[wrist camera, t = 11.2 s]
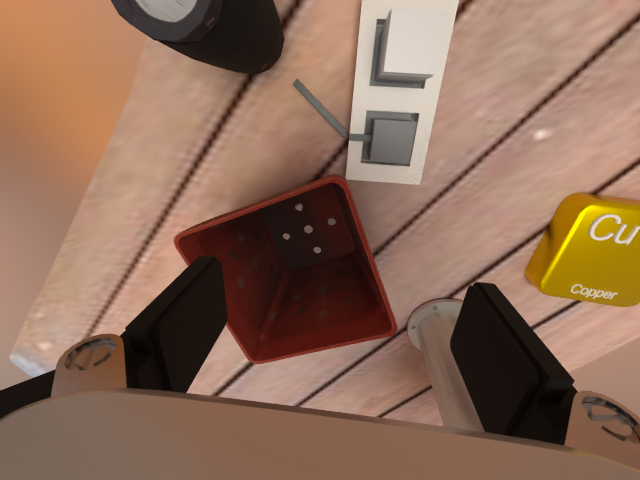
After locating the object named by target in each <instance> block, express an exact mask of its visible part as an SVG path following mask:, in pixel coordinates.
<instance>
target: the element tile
mask: <svg viewBox="0 0 640 480" xmlns="http://www.w3.org/2000/svg"><path fill="white" fill-rule="evenodd" d="M525 277H526V278H527V279H528V280H529V281H530V282H531V283H532V284H533V285H534V286H535V287H536V288H537V289H538V290H539V291H540V292H542V293H543V294H545V295H549V296H555V297H561V298H568V299H574V300H580V301H587V302H593V303H599V304H605V305H612V306H618V307H629V306H634V305H637V304H638V303H639V302H640V201H636V200H629V199H622V198H616V197H609V196H602V195H595V194H588V193H575V194H572V195H570V196H568V197H566V198H565V199H564V200H563V201H562V202H561V204H560V205H559V207H558V209H557V211H556V213H555V215H554V217H553V218H552V220H551V222H550V224H549V226H548V228H547V230H546V232H545V234H544V235H543V237H542V239H541V241H540V243H539V245H538V247H537V249H536V251H535V252H534V254H533V256H532V258H531V260H530V262H529V264H528V266H527V267H526V270H525Z"/></svg>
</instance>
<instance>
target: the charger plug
mask: <svg viewBox="0 0 640 480" xmlns="http://www.w3.org/2000/svg"><path fill="white" fill-rule="evenodd" d="M447 12H448V11H445V10H421V9H397V8H392V10H390V11H389V13H388V16H387V18H386V21H385V23H384V26H383V28H382V31H381V35H380V43H379V51H378V59H377V67H376V75H375V81H377V82H394V83H411V84H416V83H419V82H421V81H424V80H426V79H429V78H431V77H433V75H435V70H436V65H437V61H438V56H439V51H440V46H441V41H442V36H443V31H444V27H445V22H446V17H447Z"/></svg>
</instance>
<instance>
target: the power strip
mask: <svg viewBox="0 0 640 480" xmlns="http://www.w3.org/2000/svg"><path fill="white" fill-rule="evenodd" d="M458 2H459V0H362V5H361V15H360V26H359V37H358V48H357V59H356V69H355V80H354V91H353V102H352V113H351V123H350V134H349V145H348V156H347V167H346V178H345V179H347V180H360V181H373V182H387V183H400V184H413V185H420V182H421V177H422V172H423V167H424V163H425V158H426V153H427V149H428V144H429V139H430V134H431V130H432V125H433V120H434V115H435V111H436V106H437V101H438V96H439V92H440V87H441V82H442V78H443V73H444V68H445V63H446V59H447V54H448V49H449V44H450V40H451V35H452V30H453V25H454V21H455V16H456V11H457V7H458ZM392 8H397V9H421V10H445V11H448V12H447V17H446V22H445V27H444V31H443V36H442V41H441V46H440V51H439V56H438V61H437V65H436V70H435V75H433V77H431V78H429V79H426V80H424V81H421V82H419V83H416V84H411V83H394V82H377V81H375V75H376V67H377V59H378V51H379V43H380V35H381V31H382V28H383V26H384V23H385V21H386V18H387V16H388V13H389V11H390V10H392ZM293 85H294V86H295V87H296V88H297V89H298V90H299V91H300V92H301V93H302V94H303V95H304V96H305V98H306V99H307V100H308V101H309V102H310V103H311V104H312V105H313V106H314V107H315V108H316V109H317V110H318V111H319V112H320V113H321V114H322V115H323V116H324V117H325V118H326V119H327V120H328V121H329V123H330V124H331V125H332V126H333V127H334V128H335V129H336V130H337V131H338V132H339V133H340V134H341V135H342V136H343V137H344V136H345V135H346V134H347V133H348V132H347V131H346V130H345V129H344V128H343V127H342V126H341V125H340V123H339V122H338V121H337V120H336V119H335V118H334V117H333V116H332V115H331V114H330V113H329V112H328V111H327V110H326V109H325V108H324V107H323V106H322V105H321V103H320V102H319V101H318V100H317V99H316V98H315V97H314V96H313V95H312V94H311V93H310V92H309V91H308V90H307V89H306V88H305V87H304V86H303V85H302V83H301V82H300V81H299V80H298V79H296V81H295V82H294V83H293Z"/></svg>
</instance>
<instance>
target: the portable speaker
mask: <svg viewBox="0 0 640 480" xmlns="http://www.w3.org/2000/svg"><path fill="white" fill-rule="evenodd" d="M111 1H112V3H113V5H114V6H115V8H116V10H117V12H118V13H119V15H120V16H121V17H123V18H124V19H125V20H126V21H127V22H128V23H130V24H131V25H133V26H134V27H136V28H137V29H138V30H140V31H141V32H143V33H144V34H146V35H147V36H149V37H150V38H152V39H153V40H156V41H159V42H161V43H163V44H164V45H166V46H168V47H170V48H172V49H174V50H176V51H178V52H180V53H182V54H184V55H186V56H188V57H190V58H192V59H194V60H197V61H201V62H204V63H207V64H210V65H213V66H216V67H220V68H223V69H227V70H231V71H235V72H240V73H248V74H257V73H261V72H264V71H266V70H268V69H270V67H271V66H272V65H273V64H274V63H275V62H276V61H277V59H278V58H279V56H280V55H281V51H282V47H283V43H284V36H283V32H282V28H281V24H280V20H279V16H278V13H277V10H276V7H275V4H274V1H273V0H111Z"/></svg>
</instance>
